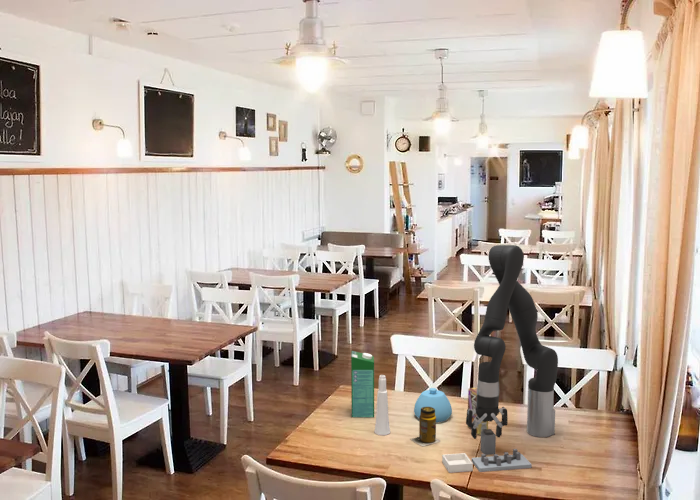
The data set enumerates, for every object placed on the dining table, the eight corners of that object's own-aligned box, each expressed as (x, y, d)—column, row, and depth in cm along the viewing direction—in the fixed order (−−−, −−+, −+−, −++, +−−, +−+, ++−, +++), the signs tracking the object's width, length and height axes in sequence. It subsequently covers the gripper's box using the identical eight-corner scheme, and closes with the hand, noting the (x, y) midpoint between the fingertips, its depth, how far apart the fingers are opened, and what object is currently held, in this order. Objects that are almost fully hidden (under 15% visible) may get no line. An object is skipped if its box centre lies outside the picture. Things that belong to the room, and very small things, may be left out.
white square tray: (464, 460, 228) (465, 453, 228) (472, 470, 220) (472, 463, 220) (442, 462, 227) (442, 454, 226) (449, 472, 219) (449, 465, 219)
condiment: (440, 441, 244) (441, 409, 242) (422, 447, 239) (423, 414, 237) (427, 434, 250) (428, 403, 248) (410, 440, 245) (410, 408, 243)
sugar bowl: (425, 407, 278) (425, 380, 276) (458, 415, 269) (458, 387, 267) (407, 418, 266) (407, 390, 264) (440, 426, 257) (440, 397, 255)
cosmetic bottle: (374, 429, 255) (374, 373, 252) (390, 429, 255) (390, 373, 252) (374, 435, 249) (374, 378, 246) (390, 435, 249) (390, 378, 246)
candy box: (489, 433, 250) (489, 394, 248) (478, 435, 249) (479, 395, 247) (476, 425, 258) (477, 387, 256) (466, 426, 257) (467, 388, 255)
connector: (491, 449, 237) (491, 428, 236) (495, 454, 233) (495, 432, 232) (480, 450, 236) (480, 429, 235) (484, 455, 232) (484, 433, 231)
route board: (521, 457, 230) (522, 447, 229) (531, 467, 222) (531, 457, 222) (471, 461, 227) (471, 451, 227) (479, 471, 219) (479, 461, 219)
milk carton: (374, 417, 266) (374, 356, 263) (351, 417, 267) (351, 356, 263) (373, 409, 275) (373, 350, 272) (351, 409, 276) (351, 350, 272)
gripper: (503, 388, 236) (501, 432, 239) (464, 389, 235) (463, 434, 237) (511, 395, 229) (509, 440, 231) (471, 397, 227) (469, 442, 229)
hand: (486, 437), depth 234 cm, fingers open, 8 cm apart
